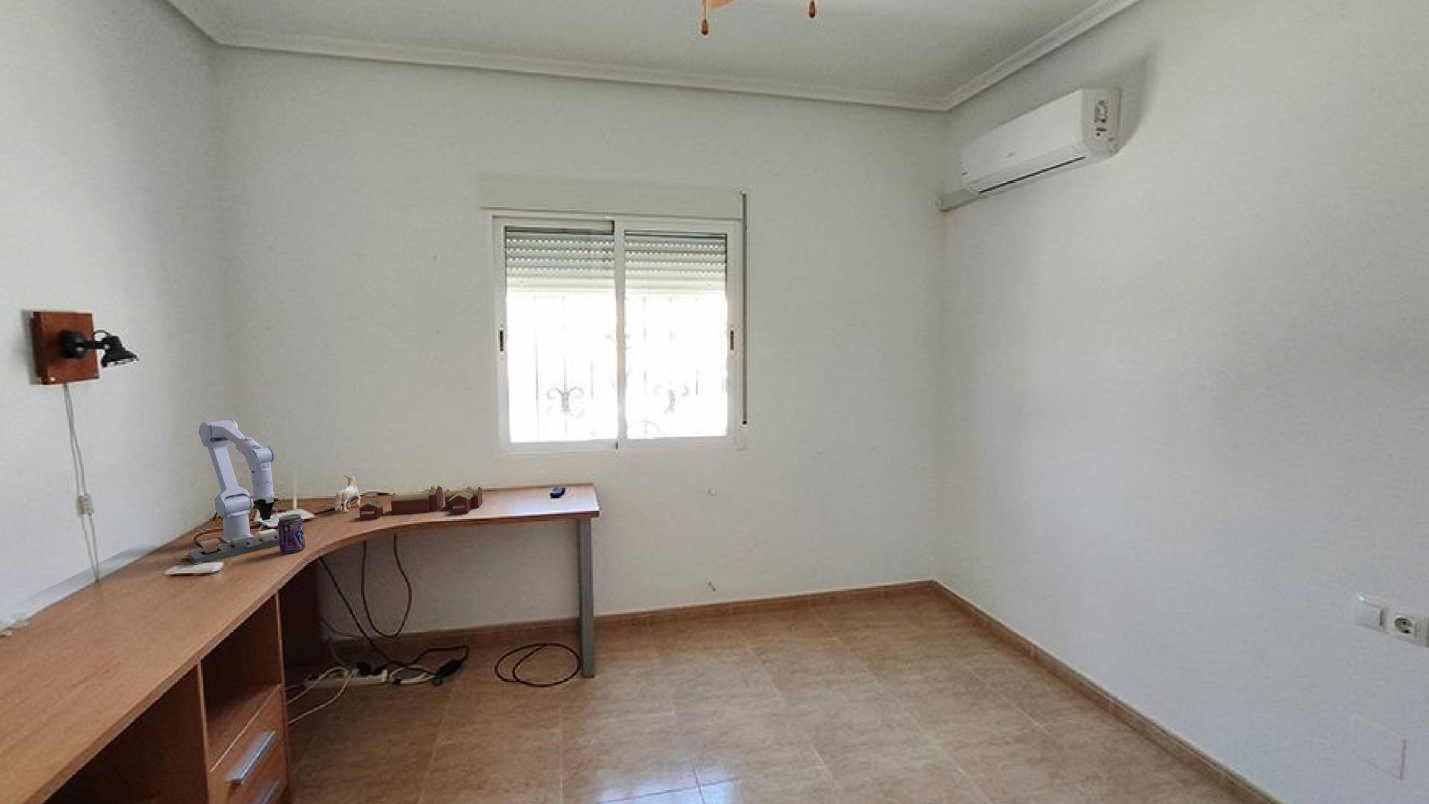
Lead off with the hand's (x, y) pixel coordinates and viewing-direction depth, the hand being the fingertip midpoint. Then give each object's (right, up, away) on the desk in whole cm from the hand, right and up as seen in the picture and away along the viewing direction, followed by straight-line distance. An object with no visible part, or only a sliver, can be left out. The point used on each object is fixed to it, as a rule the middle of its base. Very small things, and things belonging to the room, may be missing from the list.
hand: (266, 519), depth 213 cm
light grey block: (-5, -8, -5) cm, 11 cm away
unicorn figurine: (-1, -5, +46) cm, 46 cm away
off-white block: (0, -8, +1) cm, 8 cm away
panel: (-5, -10, -5) cm, 12 cm away
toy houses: (+37, -5, +39) cm, 54 cm away
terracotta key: (-10, -8, -12) cm, 17 cm away
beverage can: (+14, -10, -7) cm, 19 cm away
